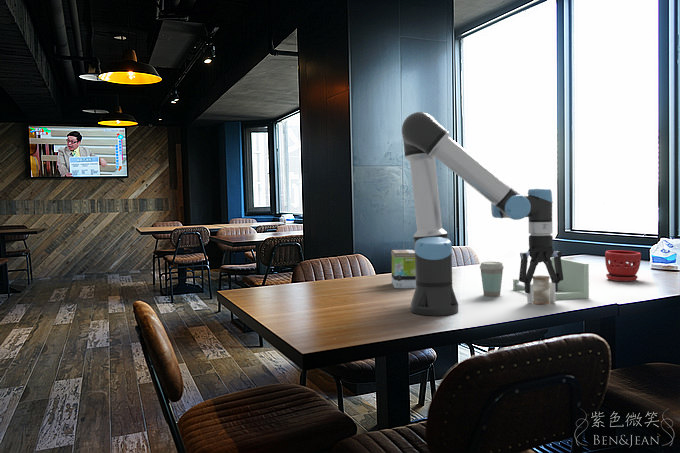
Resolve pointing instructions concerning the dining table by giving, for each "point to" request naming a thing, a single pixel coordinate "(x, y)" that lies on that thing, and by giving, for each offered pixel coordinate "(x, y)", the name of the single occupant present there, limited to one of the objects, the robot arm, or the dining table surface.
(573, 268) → the pale green rack stand
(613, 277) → the plant pot
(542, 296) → the spool
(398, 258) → the tea box
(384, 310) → the dining table surface
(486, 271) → the coffee cup
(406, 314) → the dining table surface
